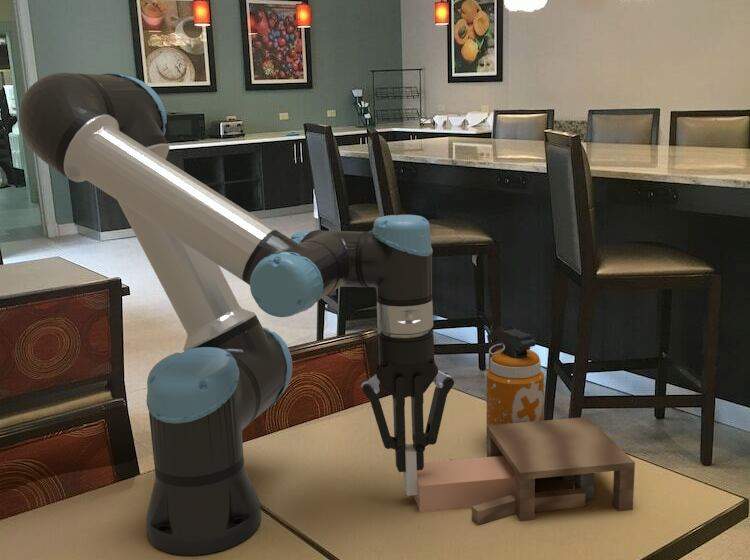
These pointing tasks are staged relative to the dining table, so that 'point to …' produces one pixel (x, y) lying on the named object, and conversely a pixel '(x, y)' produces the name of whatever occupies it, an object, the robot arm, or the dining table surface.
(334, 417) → the dining table surface
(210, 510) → the robot arm
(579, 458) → the shelf
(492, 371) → the canister
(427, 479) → the pink foam brick
